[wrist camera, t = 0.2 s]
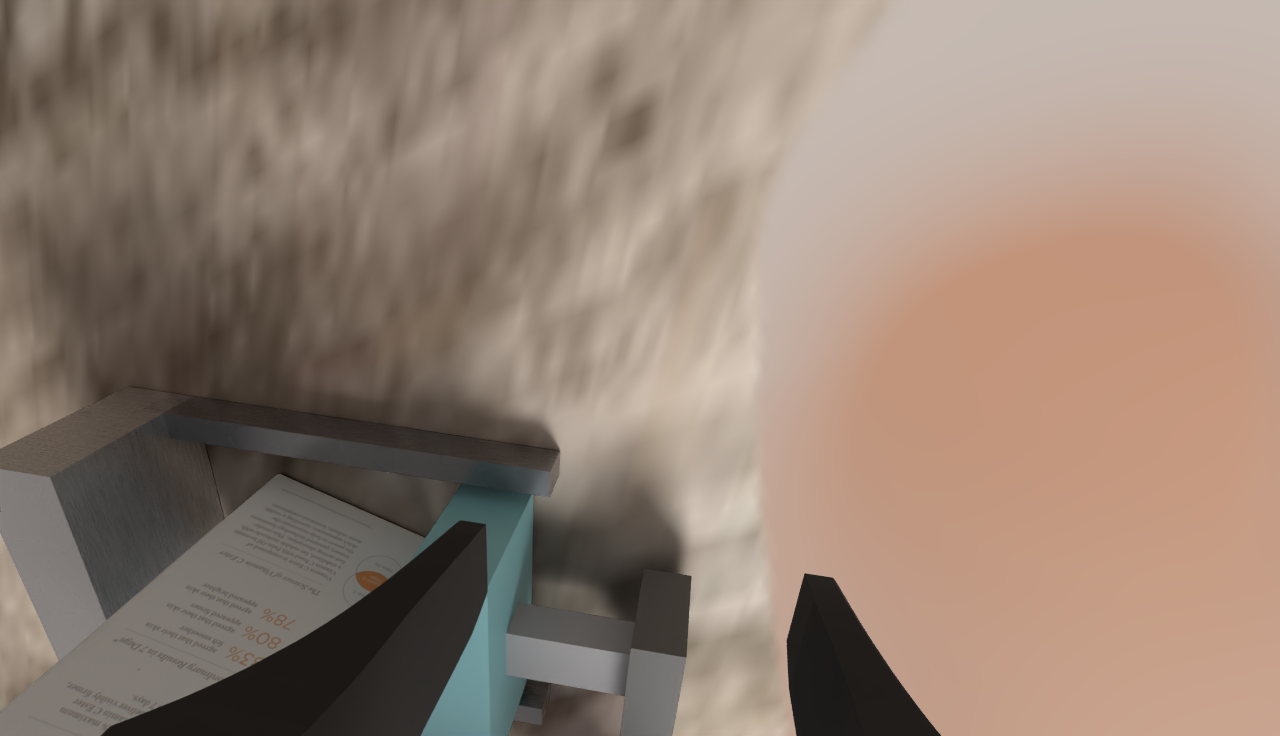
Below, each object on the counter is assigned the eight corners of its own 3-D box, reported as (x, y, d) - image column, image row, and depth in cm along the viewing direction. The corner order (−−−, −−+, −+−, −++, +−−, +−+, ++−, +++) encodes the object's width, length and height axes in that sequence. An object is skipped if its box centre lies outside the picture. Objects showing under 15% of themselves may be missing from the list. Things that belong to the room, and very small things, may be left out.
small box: (257, 562, 29) (-57, 876, 17) (278, 467, 27) (-74, 763, 15) (410, 629, 30) (207, 976, 18) (446, 543, 27) (236, 883, 15)
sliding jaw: (669, 695, 29) (659, 818, 24) (471, 660, 30) (421, 773, 25) (699, 516, 24) (694, 622, 20) (464, 479, 25) (401, 573, 20)
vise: (549, 697, 31) (512, 827, 25) (203, 635, 32) (97, 744, 27) (560, 451, 24) (513, 552, 19) (128, 386, 26) (-31, 463, 20)
